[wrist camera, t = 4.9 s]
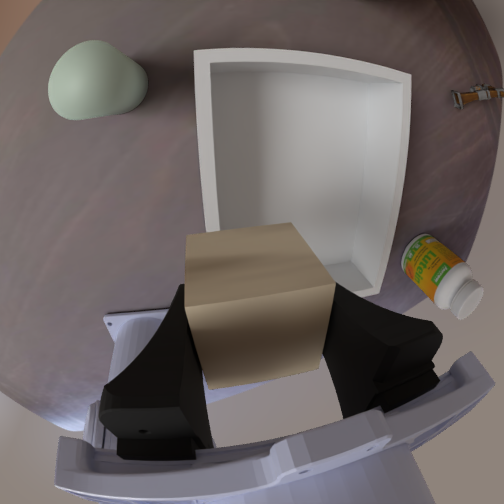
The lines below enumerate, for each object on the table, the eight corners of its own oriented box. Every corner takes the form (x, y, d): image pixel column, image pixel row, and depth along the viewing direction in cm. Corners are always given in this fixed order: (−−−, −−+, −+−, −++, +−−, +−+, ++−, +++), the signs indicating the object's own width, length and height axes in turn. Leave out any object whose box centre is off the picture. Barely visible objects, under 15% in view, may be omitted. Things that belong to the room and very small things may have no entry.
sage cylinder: (149, 108, 16) (124, 109, 10) (97, 119, 15) (51, 129, 9) (147, 56, 14) (122, 30, 8) (94, 68, 13) (48, 55, 7)
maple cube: (288, 301, 16) (318, 368, 11) (201, 314, 15) (209, 389, 11) (291, 222, 13) (335, 283, 9) (186, 235, 12) (184, 307, 8)
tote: (352, 262, 26) (379, 293, 22) (212, 282, 24) (218, 322, 19) (370, 75, 17) (411, 74, 13) (194, 65, 15) (193, 50, 11)
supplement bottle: (410, 230, 25) (473, 281, 17) (438, 234, 27) (494, 279, 18) (393, 273, 28) (444, 329, 20) (421, 273, 29) (470, 322, 21)
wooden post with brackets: (491, 92, 17) (512, 101, 14) (443, 101, 21) (462, 110, 18) (488, 78, 16) (509, 85, 13) (439, 86, 20) (458, 93, 17)
